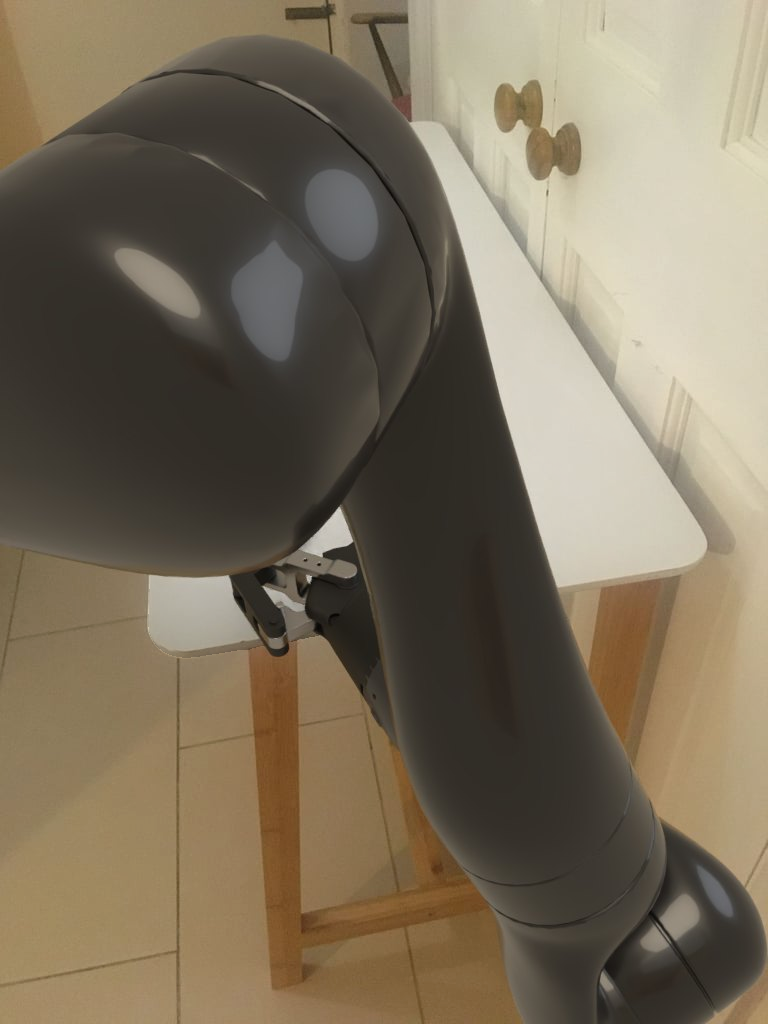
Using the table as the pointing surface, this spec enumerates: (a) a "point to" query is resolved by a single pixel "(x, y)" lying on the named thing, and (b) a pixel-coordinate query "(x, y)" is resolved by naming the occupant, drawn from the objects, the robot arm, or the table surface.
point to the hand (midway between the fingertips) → (305, 497)
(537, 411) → the table surface
